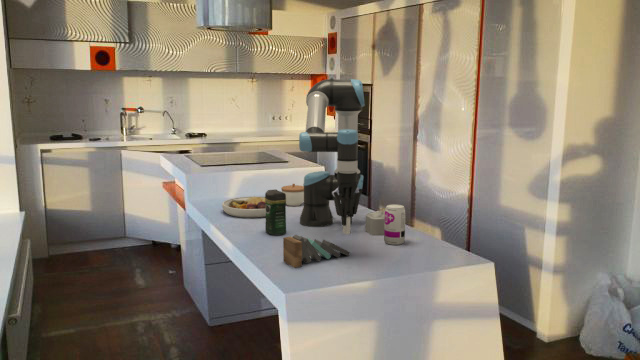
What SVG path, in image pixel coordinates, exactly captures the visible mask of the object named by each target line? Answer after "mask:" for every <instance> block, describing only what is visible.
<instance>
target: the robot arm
mask: <svg viewBox="0 0 640 360" xmlns="http://www.w3.org/2000/svg"><path fill="white" fill-rule="evenodd" d="M305 99H306V100H305V104H306V106H307V113H306V120H305V121H306V123H305V131H304V132H300V133H299V138H298V147H299V151H300V152H307V153H337V154H336V155H337V158H336V159H337V160H336V169H334V173H333V174H330V173H331V172H329V171H328V170H320V171H313V172H312V171H311V172H309V173H307V174H305V175H304V177H303V184H302V186H304V201H303V207H302V210H301V214H300V217H299V223H300V224H301V225H302V226H307V227H315V228H316V227H319V228H320V227H327V226H331V225H332V224H334V217H333V214H332V211H331V206H330V201H333V202H334V208H335V211H336V215H337V216H339V217H341V222H340V224H341V225H342V234H345V235H351V225H352V223H353V218H354V217H355V215H356V214H357V213H358V208H359V203H360V199H361V197H362V193H363V191H364V190H363V185H364V175H363V174H361V170H360V169H359V168H358V151H359V149H358V146H359V144H358V143H359V135H358V134H359V133H358V129H359V128H358V127H359V126H358V125H359V124H358V122H359V121H358V120H359V117H358V115H359V114H360V112H362V108H363V107H366V105H365V97H364V88H363V83H362V80H360V79H354V78H353V79H352V78H351V79H350V78H348V79H347V78H344V79H342V78H341V79H339V78H338V79H330V78H327V79H322V80H320V81H319V82H317V83H315V84H314V85H313V86H312V87H311V88H310V89H309V91H308V93H307V94H306V98H305ZM328 107H334V111H335V112H336V114H337V132H333V131H332V132H330V131H329V132H326V130H325V129H326V111H327V108H328Z"/></svg>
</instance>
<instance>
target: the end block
mask: <svg viewBox="0 0 640 360" xmlns="http://www.w3.org/2000/svg"><path fill="white" fill-rule="evenodd" d="M282 241H283V244H282V246H283V248H282V249H283V262H284V263H285V264H287V265H288V266H290V267H292V268H300V267H303V264H302V263H303V261H302V242H301V241H299V240H297V239H295V238H293V236H286V237H283V240H282Z"/></svg>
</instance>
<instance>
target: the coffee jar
mask: <svg viewBox="0 0 640 360" xmlns="http://www.w3.org/2000/svg"><path fill="white" fill-rule="evenodd" d="M264 195H265V196H264V197H265V202H266V217H265V229H264V231H265V232H266V233H267V234H269V235H271V236H281V235H284V234H286V233H287V216H286V215H287V211H286V209H287V207H286V206H287V204H286V194H285V193H283V192H282V191H280V190H278V189H267V191H266V192H265V193H264Z"/></svg>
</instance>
